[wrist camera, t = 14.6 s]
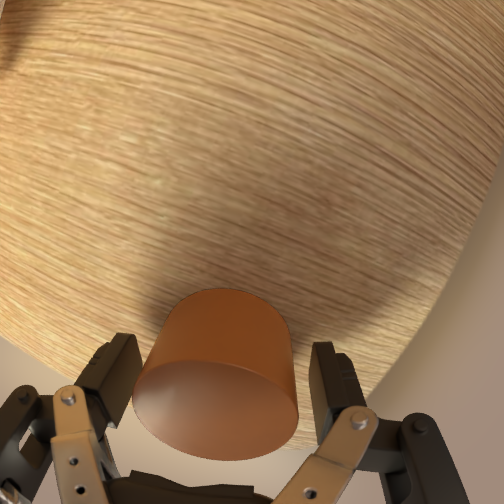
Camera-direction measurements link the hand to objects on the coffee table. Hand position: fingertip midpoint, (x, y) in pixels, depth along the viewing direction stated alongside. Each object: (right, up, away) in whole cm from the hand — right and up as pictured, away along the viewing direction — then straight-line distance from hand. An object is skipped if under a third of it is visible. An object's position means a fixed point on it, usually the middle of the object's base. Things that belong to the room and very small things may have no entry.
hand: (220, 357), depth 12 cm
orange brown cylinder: (0, 0, +1) cm, 1 cm away
